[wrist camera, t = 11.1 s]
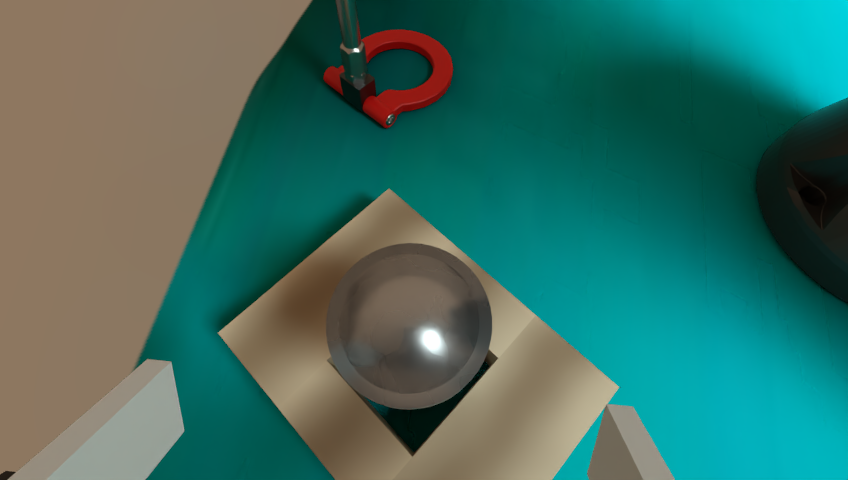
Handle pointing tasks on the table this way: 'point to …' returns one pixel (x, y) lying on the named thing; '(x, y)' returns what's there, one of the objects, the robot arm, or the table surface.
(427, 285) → the domed cap cylinder
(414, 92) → the tow hook
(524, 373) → the jig
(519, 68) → the table surface
